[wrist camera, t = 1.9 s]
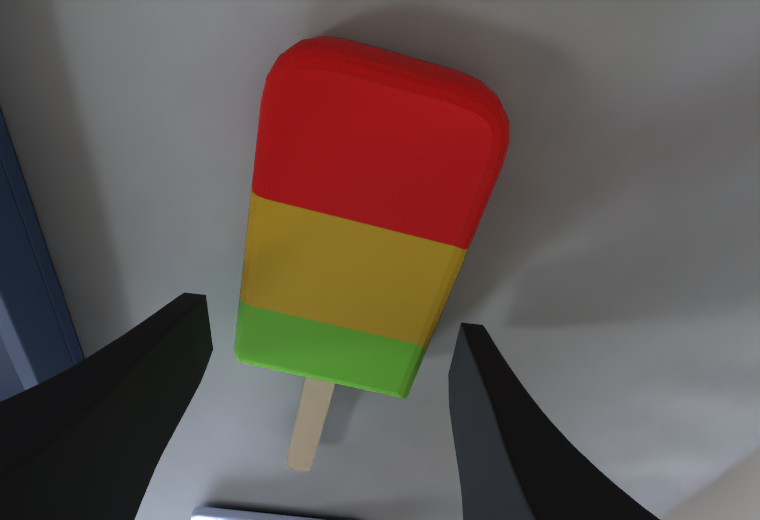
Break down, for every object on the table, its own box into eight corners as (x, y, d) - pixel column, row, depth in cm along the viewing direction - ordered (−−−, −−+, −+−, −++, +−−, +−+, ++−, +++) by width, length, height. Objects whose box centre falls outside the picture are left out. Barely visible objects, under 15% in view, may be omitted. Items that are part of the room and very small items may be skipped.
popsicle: (518, 83, 11) (536, 102, 9) (369, 460, 19) (365, 506, 17) (285, 17, 10) (261, 25, 9) (234, 432, 18) (216, 477, 17)
